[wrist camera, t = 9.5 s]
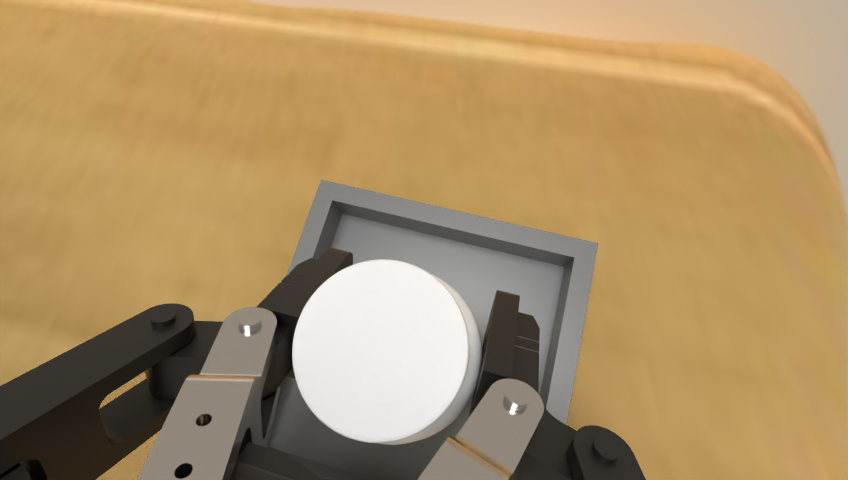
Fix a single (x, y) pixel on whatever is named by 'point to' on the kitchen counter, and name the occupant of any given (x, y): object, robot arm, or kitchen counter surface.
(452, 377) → the supplement bottle
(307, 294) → the robot arm
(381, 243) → the tray
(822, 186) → the kitchen counter surface
